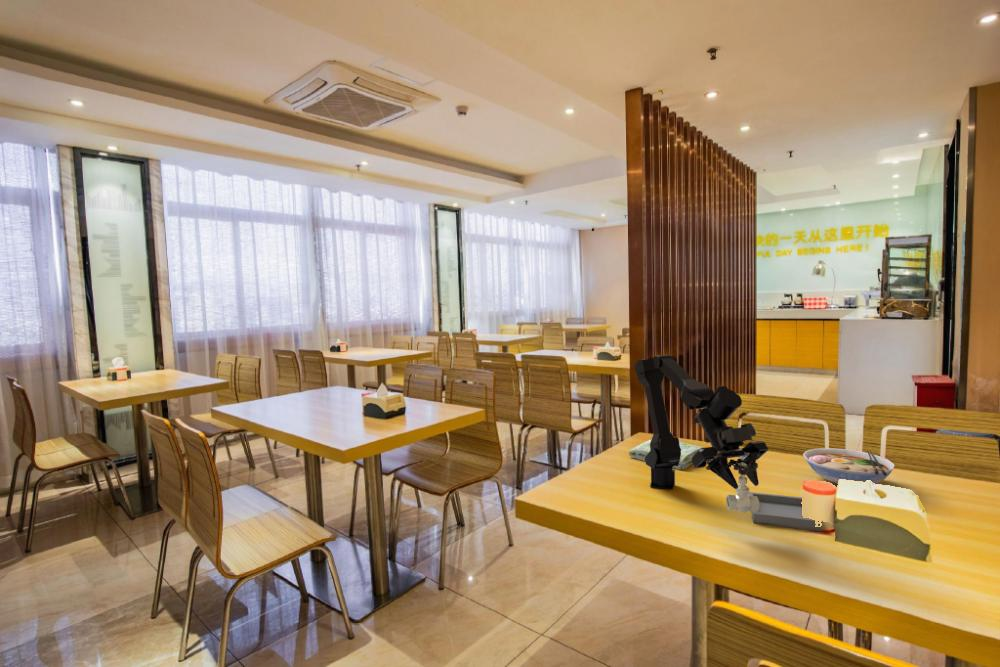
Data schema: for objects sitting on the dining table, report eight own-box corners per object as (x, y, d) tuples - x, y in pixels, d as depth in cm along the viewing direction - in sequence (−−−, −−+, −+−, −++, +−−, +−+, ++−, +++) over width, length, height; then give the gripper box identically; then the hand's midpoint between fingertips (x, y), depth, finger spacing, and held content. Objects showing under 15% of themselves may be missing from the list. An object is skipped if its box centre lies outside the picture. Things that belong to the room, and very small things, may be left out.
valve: (761, 518, 119) (762, 468, 118) (731, 516, 120) (731, 467, 119) (753, 506, 125) (753, 459, 124) (724, 505, 126) (724, 458, 125)
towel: (683, 472, 168) (683, 456, 168) (627, 458, 183) (627, 444, 183) (708, 459, 180) (708, 445, 180) (654, 447, 196) (654, 434, 195)
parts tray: (753, 523, 129) (753, 513, 128) (748, 500, 143) (748, 491, 142) (822, 531, 123) (822, 521, 123) (810, 507, 137) (810, 498, 137)
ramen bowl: (802, 465, 170) (803, 441, 169) (888, 475, 158) (888, 450, 158) (802, 490, 149) (803, 463, 148) (901, 505, 137) (902, 475, 136)
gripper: (699, 415, 122) (730, 476, 112) (763, 409, 127) (799, 466, 117) (679, 439, 130) (707, 497, 121) (740, 432, 135) (772, 487, 125)
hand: (747, 486), depth 121 cm, fingers closed on valve, 5 cm apart
